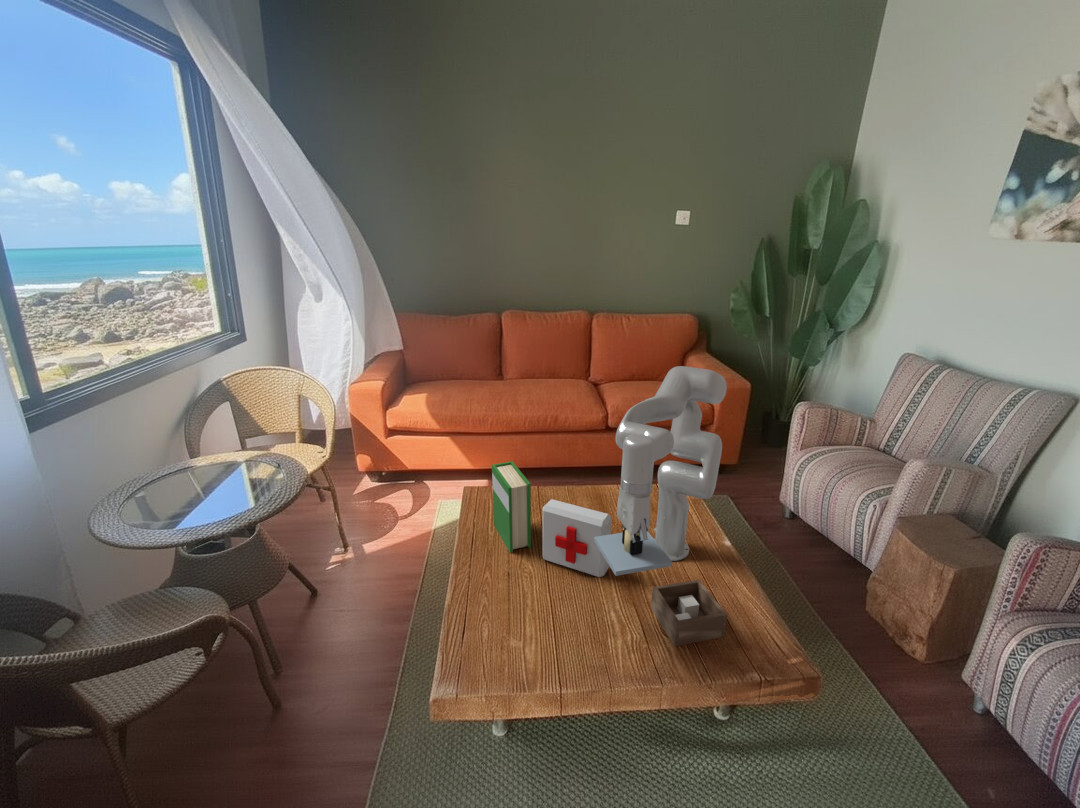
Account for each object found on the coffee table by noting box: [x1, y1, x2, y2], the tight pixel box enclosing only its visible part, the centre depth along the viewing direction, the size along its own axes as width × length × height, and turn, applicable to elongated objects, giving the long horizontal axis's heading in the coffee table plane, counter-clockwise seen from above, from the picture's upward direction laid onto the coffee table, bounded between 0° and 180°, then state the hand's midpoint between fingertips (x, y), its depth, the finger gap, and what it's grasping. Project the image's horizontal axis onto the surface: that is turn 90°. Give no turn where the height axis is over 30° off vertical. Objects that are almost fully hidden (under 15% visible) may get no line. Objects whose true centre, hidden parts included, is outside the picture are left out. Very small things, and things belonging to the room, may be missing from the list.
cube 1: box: [677, 595, 699, 618], centre depth 140 cm, size 4×4×4 cm
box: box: [650, 579, 728, 647], centre depth 136 cm, size 14×14×8 cm
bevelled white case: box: [541, 498, 612, 578], centre depth 158 cm, size 21×8×20 cm, turn 62°
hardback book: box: [491, 460, 532, 554], centre depth 173 cm, size 18×7×24 cm, turn 22°
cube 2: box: [675, 613, 691, 620], centre depth 133 cm, size 4×4×4 cm
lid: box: [594, 529, 674, 577], centre depth 131 cm, size 15×15×6 cm
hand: (631, 547), depth 131 cm, fingers closed on lid, 4 cm apart
